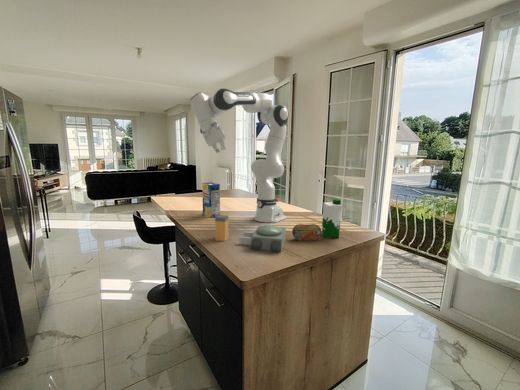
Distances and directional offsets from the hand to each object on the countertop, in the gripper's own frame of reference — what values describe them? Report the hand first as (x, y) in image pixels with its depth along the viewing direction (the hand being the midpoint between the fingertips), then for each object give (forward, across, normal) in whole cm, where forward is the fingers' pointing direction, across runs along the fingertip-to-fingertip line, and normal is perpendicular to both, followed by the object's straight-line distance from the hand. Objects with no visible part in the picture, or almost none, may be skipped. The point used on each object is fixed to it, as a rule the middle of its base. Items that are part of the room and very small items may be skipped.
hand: (220, 151), depth 136 cm
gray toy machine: (+49, -16, +6) cm, 52 cm away
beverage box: (+37, +42, +10) cm, 57 cm away
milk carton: (+65, -21, -30) cm, 74 cm away
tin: (+59, -20, -15) cm, 64 cm away
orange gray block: (+40, -3, +20) cm, 45 cm away
